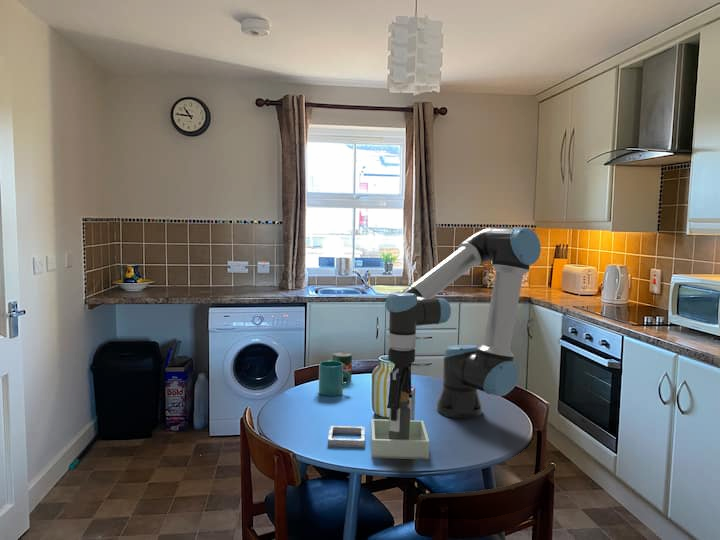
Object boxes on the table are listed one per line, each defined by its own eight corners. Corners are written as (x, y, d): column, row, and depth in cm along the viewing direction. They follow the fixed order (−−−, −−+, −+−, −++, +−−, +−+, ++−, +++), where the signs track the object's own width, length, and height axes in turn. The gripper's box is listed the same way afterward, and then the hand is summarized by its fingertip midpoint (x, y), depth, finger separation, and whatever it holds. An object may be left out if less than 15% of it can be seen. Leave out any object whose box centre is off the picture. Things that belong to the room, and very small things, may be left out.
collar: (364, 433, 162) (364, 426, 162) (364, 447, 151) (364, 440, 151) (330, 432, 162) (330, 425, 162) (327, 446, 151) (327, 439, 151)
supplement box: (414, 420, 173) (416, 386, 172) (410, 427, 168) (411, 391, 167) (397, 418, 175) (398, 384, 174) (392, 424, 169) (393, 389, 168)
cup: (348, 398, 194) (349, 367, 193) (316, 395, 196) (317, 366, 195) (351, 390, 203) (352, 361, 202) (321, 388, 204) (321, 360, 204)
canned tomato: (344, 384, 211) (345, 357, 210) (328, 380, 215) (328, 354, 214) (355, 379, 218) (355, 353, 217) (338, 376, 222) (339, 350, 221)
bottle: (386, 447, 150) (388, 395, 149) (390, 438, 156) (392, 389, 154) (406, 450, 149) (409, 398, 147) (410, 441, 154) (412, 392, 153)
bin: (422, 436, 160) (423, 420, 160) (428, 459, 145) (429, 441, 144) (370, 435, 160) (371, 419, 160) (371, 457, 145) (372, 440, 144)
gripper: (399, 339, 161) (397, 411, 163) (377, 354, 141) (374, 436, 143) (423, 341, 159) (420, 414, 161) (404, 357, 139) (401, 441, 140)
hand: (399, 425), depth 152 cm, fingers open, 9 cm apart
